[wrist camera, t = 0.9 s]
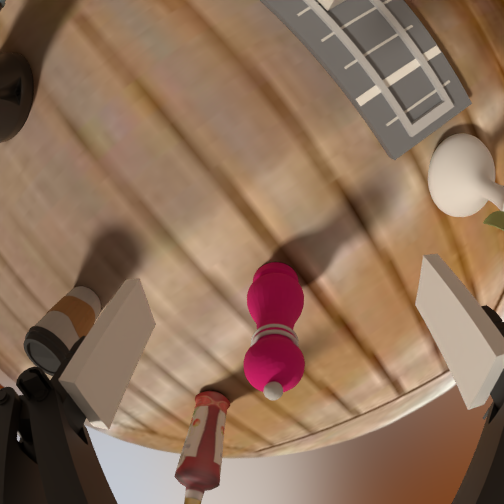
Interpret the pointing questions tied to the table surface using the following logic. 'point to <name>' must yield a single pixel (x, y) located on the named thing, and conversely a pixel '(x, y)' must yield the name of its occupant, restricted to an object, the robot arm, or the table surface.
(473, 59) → the table surface
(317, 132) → the table surface
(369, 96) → the panel
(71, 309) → the coffee cup
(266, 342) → the pepper mill
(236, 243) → the table surface
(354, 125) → the table surface
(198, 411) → the liquor
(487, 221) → the flower in vase
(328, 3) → the fader
